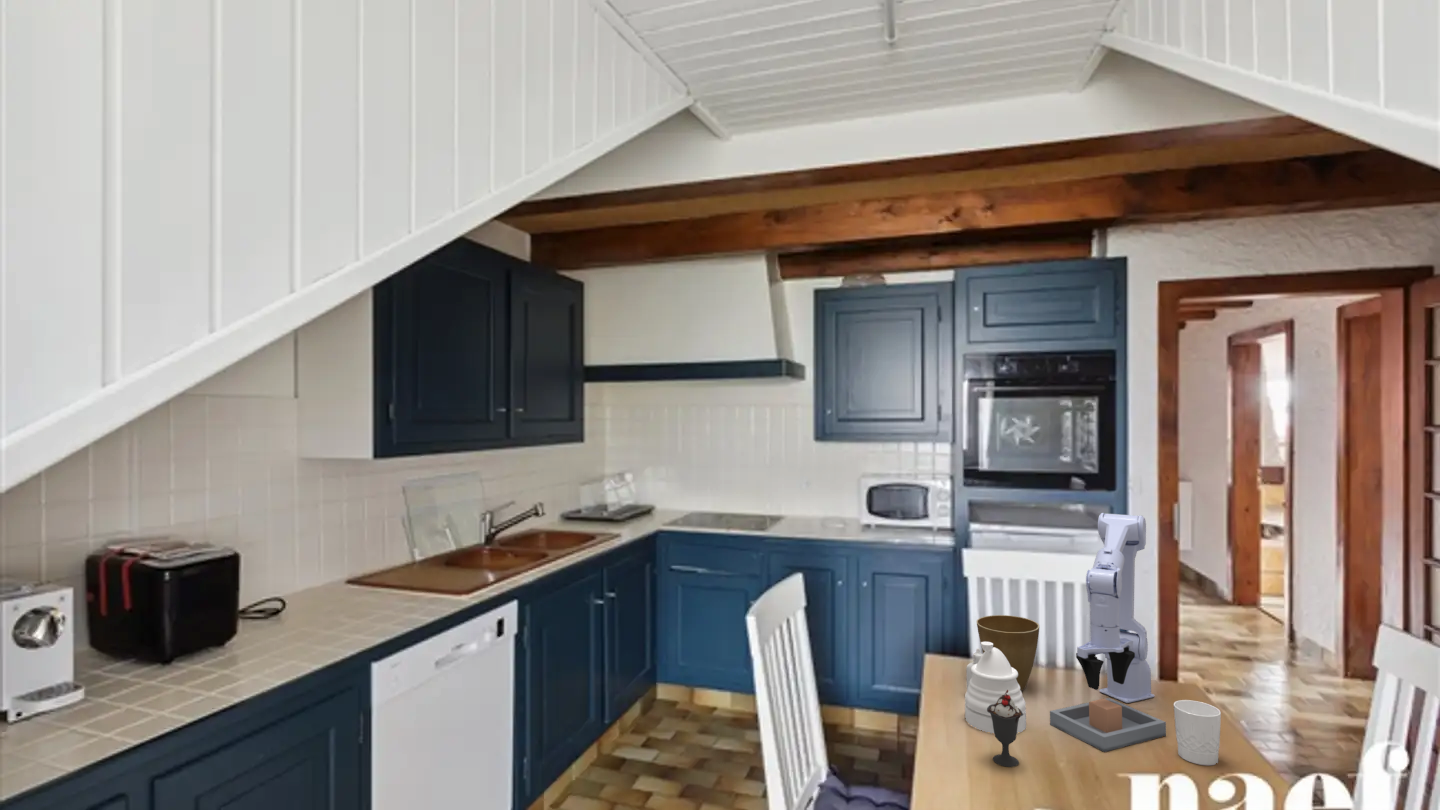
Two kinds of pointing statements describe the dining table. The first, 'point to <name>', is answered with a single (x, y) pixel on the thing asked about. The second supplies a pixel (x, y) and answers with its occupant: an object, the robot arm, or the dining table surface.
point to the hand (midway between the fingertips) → (1106, 685)
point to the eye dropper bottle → (975, 660)
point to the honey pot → (992, 689)
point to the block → (1105, 715)
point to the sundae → (1005, 727)
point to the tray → (1132, 732)
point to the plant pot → (1012, 641)
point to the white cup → (1197, 731)
